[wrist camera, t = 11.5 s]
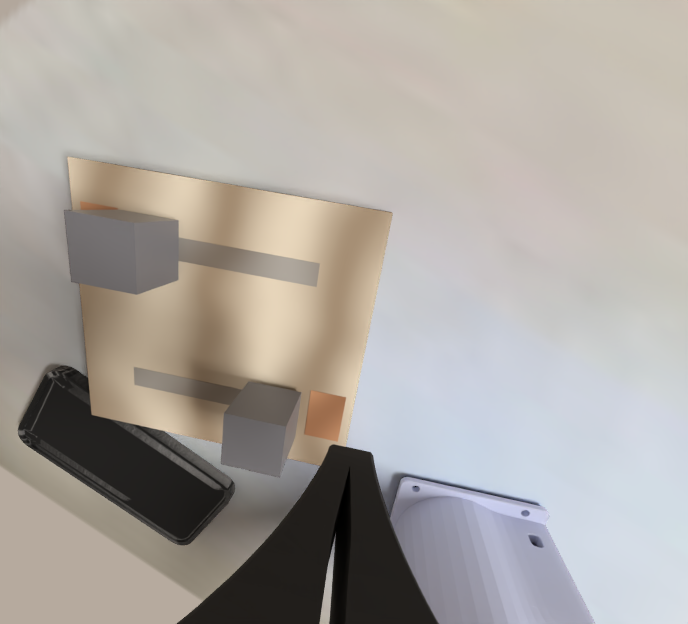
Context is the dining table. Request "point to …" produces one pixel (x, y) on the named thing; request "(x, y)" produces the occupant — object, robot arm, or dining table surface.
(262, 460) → the switch tab
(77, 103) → the dining table surface
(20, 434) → the phone
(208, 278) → the switch board
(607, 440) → the dining table surface
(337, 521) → the robot arm
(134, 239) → the switch tab
